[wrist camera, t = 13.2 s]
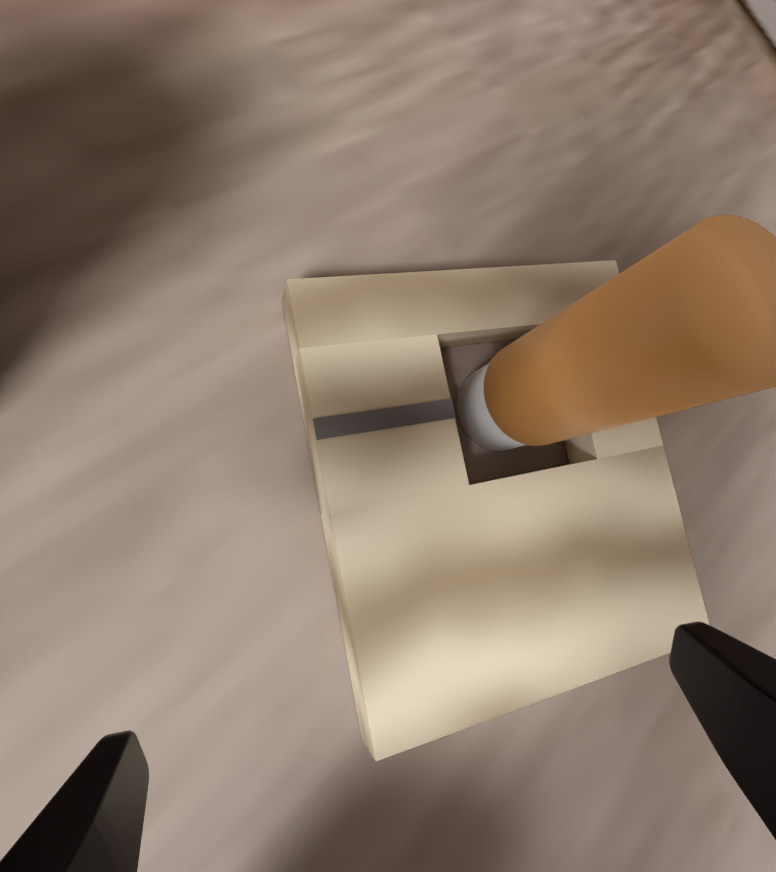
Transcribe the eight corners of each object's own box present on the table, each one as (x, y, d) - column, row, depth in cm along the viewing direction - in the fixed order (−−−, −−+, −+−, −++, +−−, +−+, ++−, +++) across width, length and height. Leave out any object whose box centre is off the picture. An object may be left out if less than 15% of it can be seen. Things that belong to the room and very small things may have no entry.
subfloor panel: (676, 628, 25) (714, 637, 23) (361, 739, 20) (376, 762, 18) (589, 278, 27) (617, 259, 25) (281, 300, 22) (287, 278, 20)
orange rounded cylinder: (553, 414, 25) (839, 317, 14) (497, 474, 24) (761, 425, 12) (495, 345, 25) (735, 183, 13) (434, 402, 24) (642, 279, 12)
